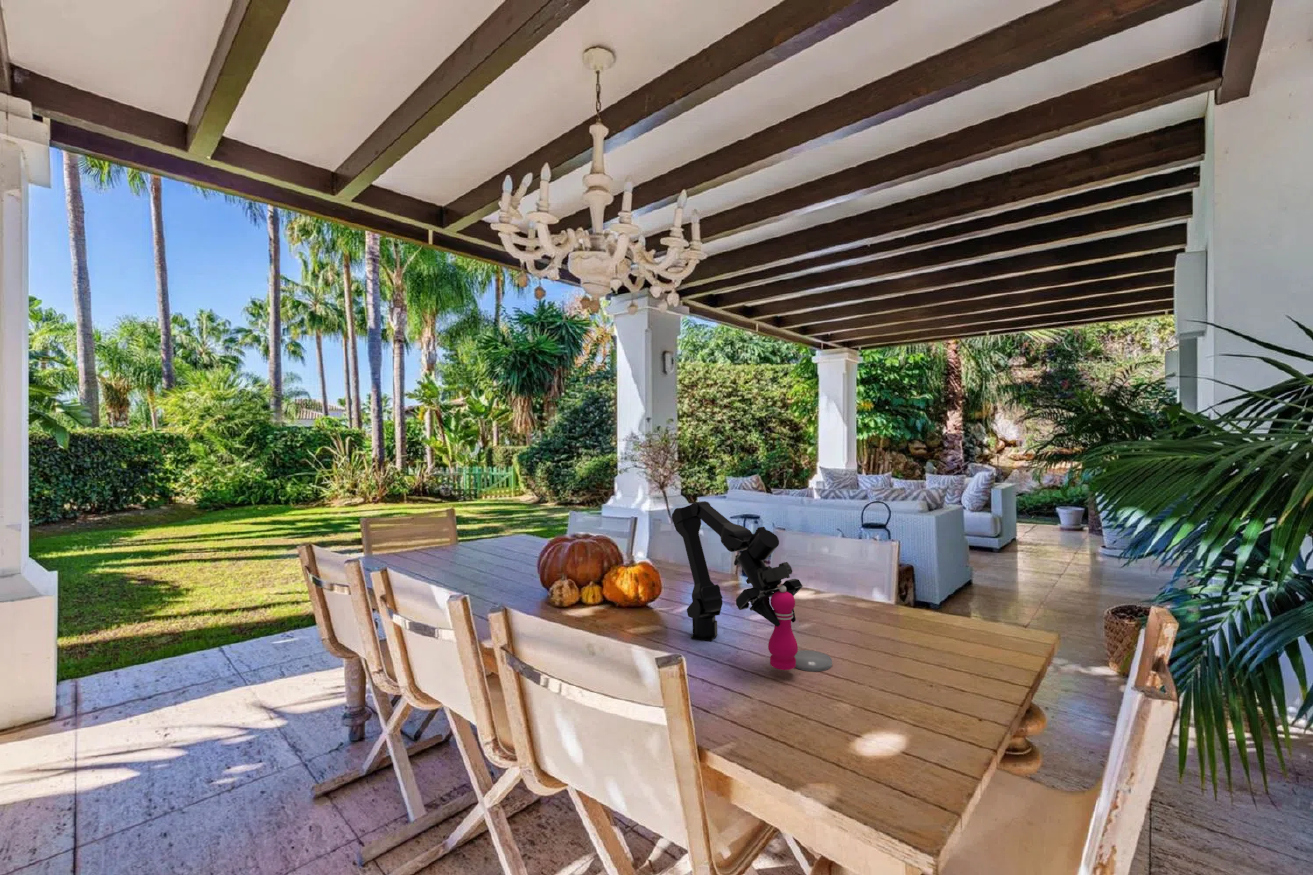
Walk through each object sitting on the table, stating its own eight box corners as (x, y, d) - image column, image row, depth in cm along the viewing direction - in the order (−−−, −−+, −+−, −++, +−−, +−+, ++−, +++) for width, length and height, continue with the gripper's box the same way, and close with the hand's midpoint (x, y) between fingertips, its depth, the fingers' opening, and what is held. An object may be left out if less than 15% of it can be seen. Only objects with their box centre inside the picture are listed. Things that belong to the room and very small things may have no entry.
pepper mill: (800, 661, 147) (800, 583, 146) (794, 673, 140) (794, 591, 140) (772, 657, 150) (772, 580, 149) (765, 667, 143) (764, 587, 143)
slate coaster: (785, 667, 149) (785, 663, 149) (792, 652, 160) (792, 648, 160) (829, 674, 145) (829, 669, 145) (834, 657, 155) (834, 653, 155)
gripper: (742, 557, 143) (774, 614, 134) (797, 547, 153) (830, 600, 144) (722, 582, 150) (752, 637, 141) (776, 571, 160) (806, 622, 151)
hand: (786, 623), depth 144 cm, fingers closed on pepper mill, 5 cm apart
